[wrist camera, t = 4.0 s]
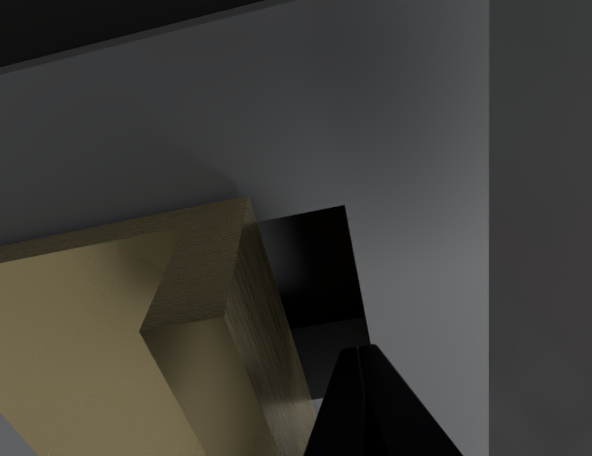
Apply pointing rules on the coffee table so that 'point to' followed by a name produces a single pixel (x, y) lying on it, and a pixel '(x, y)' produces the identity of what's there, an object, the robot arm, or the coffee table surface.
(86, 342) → the tan piece
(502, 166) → the coffee table surface
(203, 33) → the socket block
